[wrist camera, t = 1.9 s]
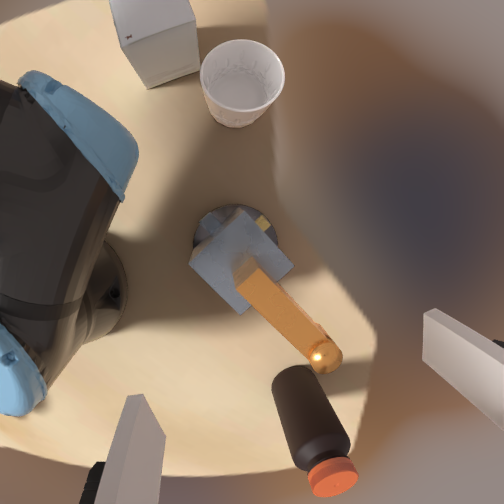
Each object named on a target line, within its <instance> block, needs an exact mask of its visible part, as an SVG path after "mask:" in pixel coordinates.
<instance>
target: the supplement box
mask: <svg viewBox="0 0 504 504" xmlns="http://www.w3.org/2000/svg"><path fill="white" fill-rule="evenodd" d="M109 4H110V8H111V12H112V16H113V20H114V25H115V27H116V31H117V35H118V39H119V43H120V47H121V49H122V51H123V52H124V54H125V55H126V57H127V59H128V60H129V62H130V63H131V65H132V66H133V68H134V70H135V71H136V73H137V74H138V76H139V77H140V79H141V80H142V82H143V84H144V85H145V87H146V89H150V88H153V87H155V86H158V85H160V84H163V83H165V82H168V81H171V80H174V79H176V78H179V77H182V76H185V75H188V74H190V73H194V72H196V71H199V70H200V68H201V65H200V56H199V47H198V38H197V27H196V18H195V15H194V13H193V10H192V8H191V5H190V3H189V0H109Z"/></svg>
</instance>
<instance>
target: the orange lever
mask: <svg viewBox="0 0 504 504" xmlns="http://www.w3.org/2000/svg"><path fill="white" fill-rule="evenodd" d="M199 223H200V224H201V225H202V226H203V227H204V228H205V229H206V230H207V231H208V232H209V233H210V234H209V235H208V236H207V237H206V238H205V239H204V240H203V241H202V242H200V243H199V244H198V245H197V246H196V247H195V248H194V250H193V252H192V255H191V258H190V260H189V263H188V264H189V265H190V266H191V267H192V268H193V269H194V270H195V271H196V272H197V273H198V274H199V275H200V276H201V277H202V278H203V279H204V280H205V281H206V282H207V283H208V284H209V285H210V286H211V287H212V288H213V289H214V290H215V291H216V292H217V293H218V294H219V295H220V296H221V297H222V298H223V299H224V300H225V301H226V302H227V303H228V304H229V305H230V306H231V307H232V308H233V309H234V310H235V311H236V312H237V313H238V314H240V315H241V314H242V313H244V312H245V311H246V310H247V309H248V308H249V307H250V306H251V305H252V306H253V307H254V308H255V309H256V310H257V311H258V312H259V313H260V314H261V315H262V316H263V317H264V318H265V319H266V320H267V321H268V322H269V323H270V324H271V325H272V326H273V327H274V328H276V329H277V330H278V331H279V332H280V333H281V334H282V335H283V336H284V337H285V338H286V339H287V340H288V341H289V342H290V343H291V344H292V345H293V346H294V347H295V348H296V349H298V350H299V351H300V352H301V353H302V354H303V355H304V356H305V357H306V358H307V359H308V360H309V362H310V364H311V366H312V367H313V369H314V370H315V371H316V372H317V373H320V374H328V373H331V372H333V371H335V370H336V369H337V368H338V367H339V366H340V364H341V362H342V359H343V355H342V352H341V350H340V349H339V348H338V347H337V345H336V344H335V343H334V341H333V340H332V339H331V338H330V336H329V335H328V334H327V333H326V331H325V330H324V329H323V327H322V326H321V325H320V324H318V323H315V322H314V321H313V320H312V319H311V317H310V316H309V315H308V314H307V313H306V312H305V311H304V310H303V309H302V308H301V307H300V306H299V305H298V304H297V303H296V302H295V301H294V300H293V298H292V297H291V296H290V295H289V294H288V293H287V292H286V291H285V290H284V289H283V288H282V287H281V286H280V285H279V284H278V283H277V282H278V281H279V280H280V279H281V278H282V277H283V276H284V275H286V274H287V273H288V272H289V271H290V270H291V269H292V268H293V267H294V264H293V263H292V262H291V261H290V260H289V259H288V258H287V257H286V256H285V254H284V253H283V252H282V251H281V250H280V249H279V248H278V247H277V246H276V245H275V243H274V242H273V241H272V240H271V239H270V238H269V237H268V236H267V235H266V234H265V233H264V231H263V230H262V229H261V228H260V227H259V226H258V225H257V224H256V223H255V222H254V221H253V219H252V218H251V217H250V216H249V215H248V214H247V213H246V212H245V211H244V210H242V209H241V208H239V207H238V208H237V209H236V210H234V211H233V212H232V213H231V214H230V215H229V216H228V217H227V218H226V219H225V220H224V221H223V222H222V223H221V222H220V221H219V220H218V219H217V218H216V217H215V216H214V215H213V214H212V213H211V212H209V213H208V214H206V215H205V216H204V217H203V218H202V219H201V220H200V221H199Z"/></svg>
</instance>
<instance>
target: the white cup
mask: <svg viewBox="0 0 504 504" xmlns="http://www.w3.org/2000/svg"><path fill="white" fill-rule="evenodd" d="M200 82H201V86H202V89H203V94H204V97H205V100H206V103H207V106H208V108H209V111H210V113H211V114H212V116H213V117H214V118H215V120H216V121H217V122H219V123H221V124H223V125H225V126H227V127H234V128H242V127H244V126H247V125H249V124H252V123H253V122H254V121H255V120H256V119H257V118H259V117H260V116H261V115H262V114H263V113H264V112H265V111H266V110H267V109H268V107H269V106H270V105H271V104H272V103H273V102H274V101H275V100H276V98H277V97H278V96H279V95H280V93H281V91H282V89H283V86H284V82H285V71H284V67H283V64H282V62H281V60H280V59H279V57H278V56H277V55H276V54H275V53H274V52H273V51H272V50H271V49H270V48H269V47H267V46H265V45H263V44H261V43H259V42H256V41H252V40H246V39H236V40H230V41H227V42H224V43H222V44H220V45H218V46H216V47H215V48H213V49H212V50H211V51H210V52H209V53H208V54H207V55H206V57H205V58H204V60H203V62H202V65H201V68H200Z"/></svg>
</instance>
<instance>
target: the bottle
mask: <svg viewBox="0 0 504 504" xmlns="http://www.w3.org/2000/svg"><path fill="white" fill-rule="evenodd" d="M272 394H273V397H274V401H275V404H276V407H277V410H278V414H279V417H280V420H281V424H282V427H283V430H284V433H285V437H286V440H287V443H288V446H289V450H290V453H291V456H292V459H293V461H294V463H295V465H296V466H297V467H298V468H299V469H301V470H304V471H308V473H307V475H308V480H309V482H310V485H311V488H312V491H313V493H314V494H315V495H316V496H319V497H331V496H335V495H338V494H340V493H343V492H345V491H346V490H348V489H349V488H351V487H352V486H353V485H354V484H355V483H356V482H357V479H358V473H357V471H356V469H355V467H354V465H353V463H352V461H351V460H350V458H348V456H347V454H348V452H349V450H350V446H351V444H350V439H349V437H348V435H347V433H346V431H345V430H344V428H343V426H342V424H341V422H340V421H339V419H338V417H337V415H336V413H335V411H334V410H333V408H332V406H331V404H330V402H329V400H328V399H327V397H326V395H325V393H324V391H323V390H322V388H321V386H320V384H319V382H318V380H317V379H316V377H315V375H314V374H313V373H312V371H311V370H309V369H307V368H305V367H299V366H297V367H290V368H287V369H285V370H283V371H282V372H280V373H279V374H278V375H277V376H276V377H275V378H274V380H273V383H272Z"/></svg>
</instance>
